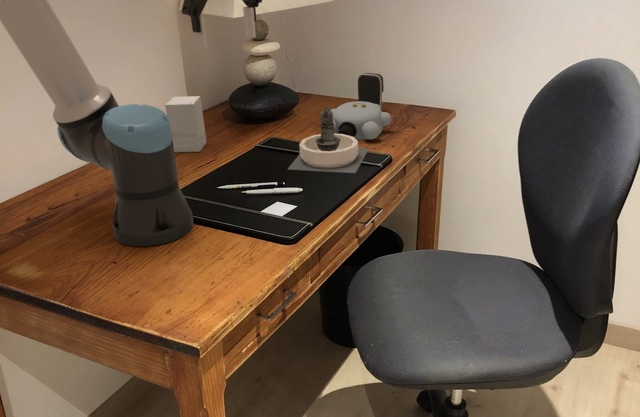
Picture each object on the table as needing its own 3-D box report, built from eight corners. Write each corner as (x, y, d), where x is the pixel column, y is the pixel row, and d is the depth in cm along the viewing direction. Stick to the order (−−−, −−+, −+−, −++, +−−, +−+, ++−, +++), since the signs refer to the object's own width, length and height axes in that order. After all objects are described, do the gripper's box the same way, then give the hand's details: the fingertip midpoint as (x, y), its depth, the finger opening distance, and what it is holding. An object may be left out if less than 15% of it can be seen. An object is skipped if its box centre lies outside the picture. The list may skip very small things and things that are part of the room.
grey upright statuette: (343, 151, 161) (341, 102, 156) (337, 159, 156) (335, 109, 150) (319, 149, 162) (317, 101, 157) (313, 158, 157) (310, 109, 152)
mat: (355, 174, 150) (355, 172, 150) (287, 170, 154) (287, 169, 154) (368, 150, 164) (368, 148, 164) (306, 147, 168) (306, 145, 168)
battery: (385, 112, 193) (385, 73, 188) (379, 116, 190) (379, 76, 185) (363, 109, 196) (362, 71, 191) (357, 113, 193) (356, 74, 188)
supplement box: (207, 142, 175) (201, 95, 170) (200, 152, 168) (193, 103, 163) (179, 142, 176) (173, 95, 171) (171, 152, 169) (164, 104, 164)
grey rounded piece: (338, 119, 187) (312, 150, 171) (336, 90, 183) (309, 119, 167) (398, 124, 181) (377, 156, 165) (397, 94, 177) (375, 125, 161)
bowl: (351, 170, 152) (350, 154, 150) (294, 167, 155) (293, 151, 153) (362, 150, 163) (362, 134, 162) (309, 147, 167) (308, 132, 165)
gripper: (251, -66, 149) (258, 31, 158) (155, -57, 134) (170, 50, 143) (273, -66, 145) (280, 34, 154) (177, -57, 129) (190, 54, 138)
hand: (227, 42), depth 148 cm, fingers open, 13 cm apart
